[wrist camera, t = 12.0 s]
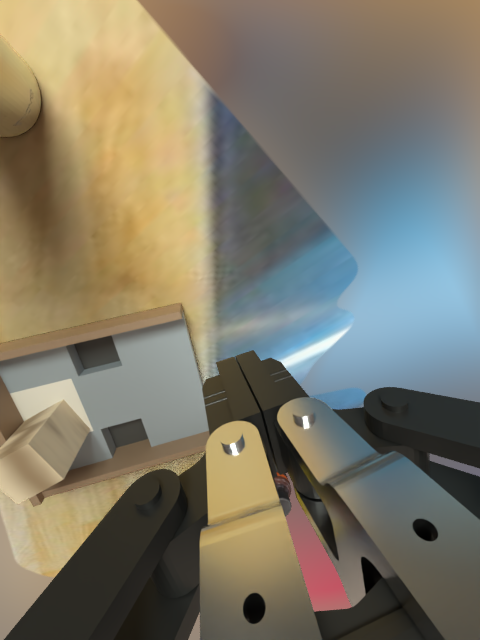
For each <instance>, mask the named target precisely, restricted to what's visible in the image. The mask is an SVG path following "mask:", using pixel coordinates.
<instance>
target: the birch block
mask: <svg viewBox="0 0 480 640" xmlns="http://www.w3.org/2000/svg"><path fill="white" fill-rule="evenodd" d="M89 431H90V428H89V427H88V426H87V425H86V424H85V423H84V422H83V421H82V419H81V418H80V417H79V416H78V415H77V414H76V413H75V412H74V410H73V409H72V408H71V407H70V406H69V405H68V404H67V403H66V401H65V400H64V399H63V400H61V401H59V402H58V403H56V404H54V405H52V406H50V407H49V408H47V409H45V410H43V411H41V412H39V413H38V414H36V415H34V416H32V417H30V418H29V419H27V420H25V421H24V422H23V423H22V424H21V426H20V427H19V428H18V429H17V430H16V431H15V432H14V433H13V434H12V435H11V436H10V438H9V439H8V440H7V441H6V442H5V443H4V444H3V445H2V446H1V447H0V490H1V491H2V492H3V493H5V494H6V495H7V496H8V497H9V498H10V499H11V500H13V501H14V502H15V503H16V504H17V505H19V504H20V503H22V502H24V501H26V500H28V499H29V498H31V497H33V496H35V495H36V494H38V493H40V492H42V491H44V490H45V489H47V488H49V487H51V486H53V485H54V484H56V483H58V482H60V481H62V480H63V479H64V478H65V476H66V474H67V472H68V470H69V469H70V467H71V465H72V463H73V461H74V459H75V457H76V455H77V453H78V451H79V450H80V448H81V446H82V444H83V442H84V440H85V438H86V436H87V434H88V432H89Z"/></svg>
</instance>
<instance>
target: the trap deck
mask: <svg viewBox="0 0 480 640" xmlns="http://www.w3.org/2000/svg"><path fill="white" fill-rule="evenodd" d="M202 388H203V384H202V380H201V376H200V372H199V369H198V365H197V361H196V357H195V353H194V350H193V346H192V342H191V338H190V335H189V331H188V327H187V323H186V319H185V316H184V312H183V308H182V304H181V303H177V304H173V305H168V306H164V307H159V308H155V309H151V310H146V311H142V312H137V313H133V314H128V315H124V316H119V317H115V318H111V319H106V320H102V321H97V322H93V323H88V324H84V325H80V326H75V327H71V328H66V329H62V330H57V331H53V332H48V333H44V334H40V335H35V336H31V337H26V338H22V339H17V340H13V341H9V342H4V343H0V447H1V446H2V445H3V444H4V443H5V442H6V441H7V440H8V439H9V438H10V436H11V435H12V434H13V433H14V432H15V431H16V430H17V429H18V428H19V427H20V426H21V424H22V423H23V422H24V421H25V420H27V419H29V418H30V417H32V416H34V415H36V414H38V413H39V412H41V411H43V410H45V409H47V408H49V407H50V406H52V405H54V404H56V403H58V402H59V401H61V400H63V399H64V400H65V401H66V403H67V404H68V405H69V406H70V407H71V408H72V409H73V410H74V412H75V413H76V414H77V415H78V416H79V417H80V418H81V419H82V421H83V422H84V423H85V424H86V425H87V426H88V427H89V428H90V431H89V432H88V434H87V436H86V438H85V440H84V442H83V444H82V446H81V448H80V450H79V451H78V453H77V455H76V457H75V459H74V461H73V463H72V465H71V467H70V469H69V470H68V472H67V474H66V476H65V478H64V479H63V480H62V481H60V482H58V483H56V484H54V485H53V486H51V487H49V488H47V489H45V490H44V491H42V492H40V493H38V494H36V495H35V496H33V497H31V498H29V499H30V501H31V503H32V505H33V506H37V505H40V504H41V503H42V502H43V500H44V498H46V497H49V496H52V495H56V494H59V493H63V492H66V491H69V490H73V489H76V488H80V487H83V486H87V485H90V484H93V483H97V482H100V481H104V480H107V479H110V478H114V477H117V476H121V475H124V474H128V473H131V472H134V471H138V470H141V469H145V468H148V467H151V466H155V465H158V464H162V463H165V462H168V461H172V460H175V459H179V458H182V457H186V456H189V455H192V454H196V453H199V452H203V451H206V444H207V441H208V439H209V437H210V434H209V428H208V422H207V416H206V410H205V404H204V398H203V392H202Z"/></svg>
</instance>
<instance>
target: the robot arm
mask: <svg viewBox="0 0 480 640" xmlns="http://www.w3.org/2000/svg"><path fill="white" fill-rule="evenodd" d="M40 107H41V96H40V90H39V86H38V83H37V80H36V78H35V76H34V74H33V72H32V70H31V69H30V68H29V66H28V65H27V63H26V62H25V61H24V60H23V59H22V57H21V56H20V55H19V54H18V53H17V52H16V51H15V50H14V49H13V47H12V46H11V45H10V44H9V43H8V42H7V41H6V40H5V39H4V37H3V36H2V35H1V34H0V137H13V136H18V135H20V134H22V133H25V132H26V131H28V130H29V129H30V128H31V127H32V126H33V125H34V123H35V122H36V120H37V118H38V116H39V113H40ZM235 357H236V359H235ZM235 357H231V358H228V359H225V360H222V361H219V362H216V364H217V367H218V370H219V374H220V375H218V376H215V377H212V378H209V379H206V381H205V383H204V385H203V388H202V392H203V398H204V404H205V410H206V416H207V422H208V428H209V434H210V437H209V439H208V441H207V444H206V453H205V454H204V456H203V457H202V458H201V459H200V460H199V461H198V462H197V463H196V464H195V465H193V466H192V467H191V468H189V469H188V470H186V471H185V472H183V473H182V474H181V475H179V476H177V475H176V473H174V472H173V471H171V470H167V469H159V470H155V471H152V472H149V473H147V474H145V475H144V476H142V477H140V478H139V479H138V480H136V481H135V482H134V483H133V484H132V485H131V486H130V487H129V488H128V489H127V490H126V492H125V493H124V494H123V495H122V496H121V498H120V499H119V500H118V501H117V503H116V504H115V505H114V506H113V507H112V509H111V510H110V511H109V512H108V514H107V515H106V516H105V517H104V518H103V520H102V521H101V522H100V523H99V524H98V526H97V527H96V528H95V529H94V531H93V532H92V533H91V534H90V535H89V537H88V538H87V539H86V540H85V542H84V543H83V544H82V545H81V546H80V548H79V549H78V550H77V551H76V552H75V554H74V555H73V556H72V557H71V559H70V560H69V561H68V562H67V563H66V565H65V566H64V567H63V568H62V570H61V571H60V572H59V573H58V574H57V576H56V577H55V578H54V579H53V580H52V582H51V583H50V584H49V585H48V587H47V588H46V589H45V590H44V591H43V593H42V594H41V595H40V596H39V597H38V599H37V600H36V601H35V603H34V604H33V605H32V606H31V607H30V608H29V610H28V611H27V612H26V613H25V615H24V616H23V617H22V618H21V619H20V621H19V622H18V623H17V624H16V625H15V627H14V628H13V629H12V630H11V632H10V633H9V634H8V635H7V637H6V638H5V639H4V640H188V638H189V636H190V634H191V631H192V629H193V626H194V624H195V621H196V619H197V617H198V614H199V612H200V640H480V477H479V476H476V475H472V474H469V473H466V472H463V471H460V470H457V469H454V468H450V467H447V466H444V465H441V464H438V463H435V462H432V461H429V453H431V454H434V455H438V456H441V457H444V458H447V459H451V460H454V461H457V462H460V463H464V464H467V465H471V466H474V467H477V468H480V403H479V402H474V401H468V400H463V399H457V398H452V397H446V396H441V395H435V394H430V393H425V392H419V391H414V390H408V389H402V388H396V387H385V388H379V389H376V390H374V391H372V392H370V393H369V394H367V395H366V397H365V399H364V407H362V408H353V409H343V410H335V409H331V408H330V407H329V406H328V405H327V404H326V403H324V402H323V401H321V400H318V399H315V398H310V397H309V396H308V395H307V394H306V393H305V391H304V390H303V389H302V388H301V386H300V385H299V384H298V383H297V381H296V380H295V379H294V378H293V377H292V376H291V374H290V373H289V372H288V371H287V370H286V368H285V367H284V366H283V364H282V363H281V362H279V361H277V360H274V359H272V358H268V359H265V360H262V361H261V360H260V359H259V357H258V356H257V354H256V353H255V352H254V350H252V351H249V352H246V353H243V354H240V355H237V356H235ZM274 463H275V464H274ZM275 465H276V468H277V470H278V472H279V475H282V474H284V473H287V472H288V474H289V476H290V478H291V480H292V482H293V486H294V490H295V494H296V497H297V499H298V501H299V503H300V505H301V507H302V509H303V510H304V512H305V514H306V516H307V517H308V519H309V521H310V523H311V525H312V527H313V528H314V530H315V532H316V534H317V536H318V537H319V539H320V541H321V543H322V544H323V547H324V548H325V550H326V552H327V554H328V556H329V557H330V559H331V561H332V563H333V565H334V566H335V568H336V570H337V572H338V575H339V577H340V579H341V581H342V584H343V587H344V589H345V592H346V594H347V597H348V599H349V602H350V604H351V606H352V607H351V608H349V609H341V610H329V611H317V612H314V610H313V607H312V604H311V601H310V598H309V594H308V591H307V587H306V584H305V581H304V578H303V574H302V571H301V568H300V564H299V561H298V558H297V554H296V551H295V548H294V545H293V541H292V539H291V535H290V532H289V528H288V525H287V522H286V518H285V515H284V512H283V509H282V505H281V502H280V501H279V494H278V490H277V487H276V483H275V479H274V478H275V477H277V472H276V468H275Z"/></svg>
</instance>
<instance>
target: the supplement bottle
mask: <svg viewBox="0 0 480 640" xmlns="http://www.w3.org/2000/svg"><path fill="white" fill-rule="evenodd" d="M274 464H275V463H274ZM275 468H276V465H275ZM276 472H277V477H275V478H274V479H275V483H276V487H277V490H278V494H279V501H280V502H281V505H282V509H283V512H284V515H285V516H286V515H288V513H289V512H290V510H291V502H290V499H289V497H290V494H291V487H290V483H289V481H288V478H287V476H286V474H285V473H284V474H282V475H279V472H278V470H277V468H276Z"/></svg>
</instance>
